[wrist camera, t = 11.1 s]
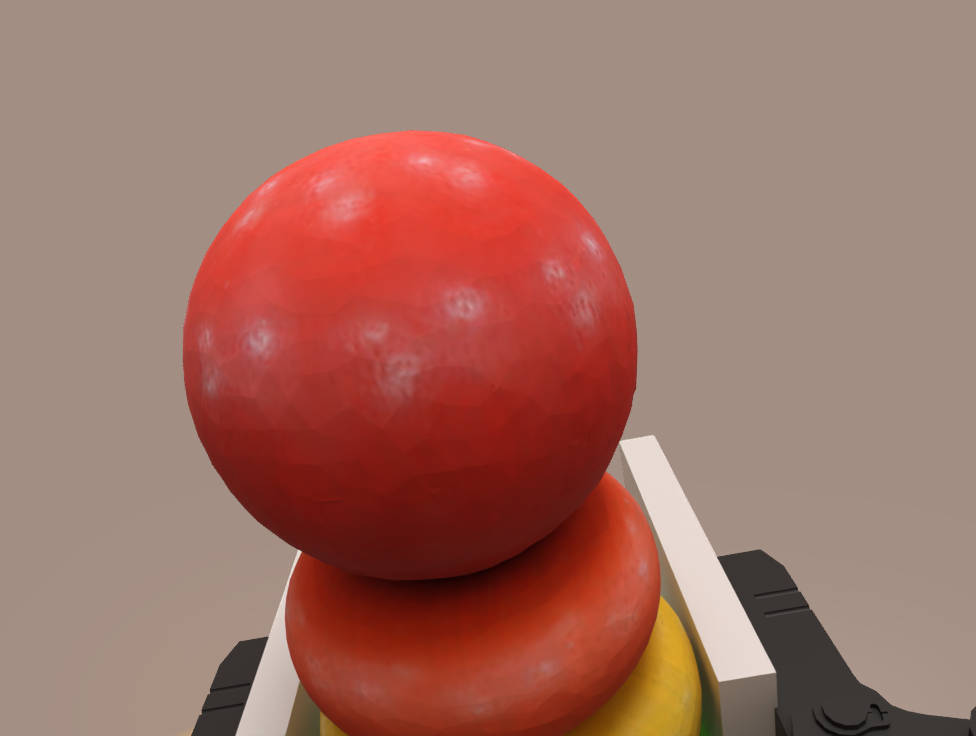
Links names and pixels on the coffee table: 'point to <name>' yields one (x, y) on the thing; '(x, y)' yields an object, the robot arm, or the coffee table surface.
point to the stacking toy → (439, 443)
